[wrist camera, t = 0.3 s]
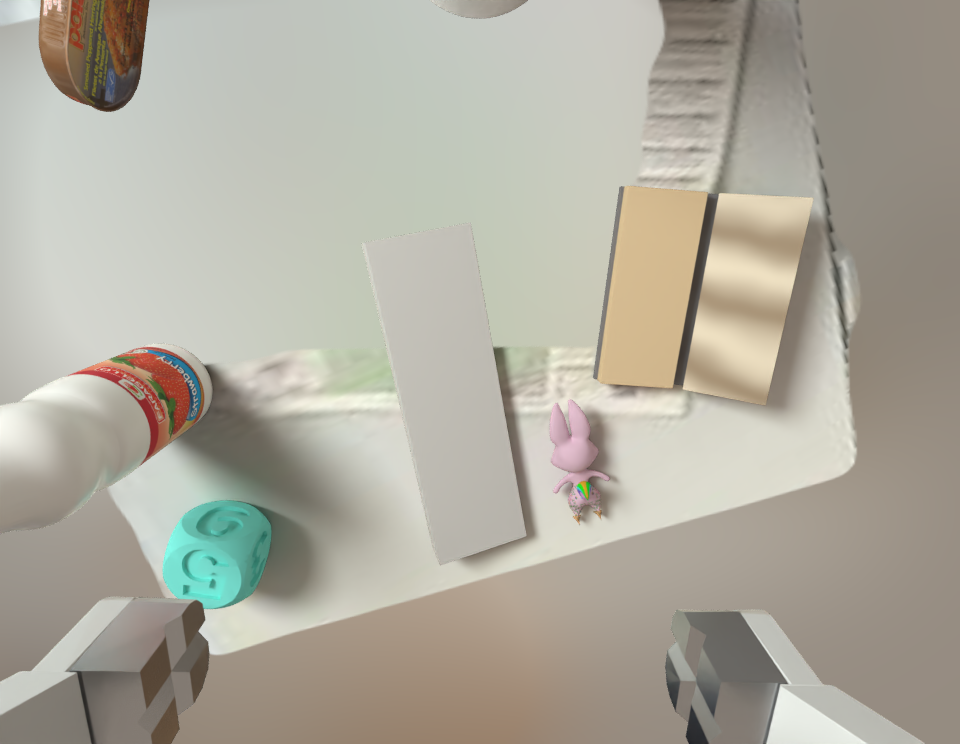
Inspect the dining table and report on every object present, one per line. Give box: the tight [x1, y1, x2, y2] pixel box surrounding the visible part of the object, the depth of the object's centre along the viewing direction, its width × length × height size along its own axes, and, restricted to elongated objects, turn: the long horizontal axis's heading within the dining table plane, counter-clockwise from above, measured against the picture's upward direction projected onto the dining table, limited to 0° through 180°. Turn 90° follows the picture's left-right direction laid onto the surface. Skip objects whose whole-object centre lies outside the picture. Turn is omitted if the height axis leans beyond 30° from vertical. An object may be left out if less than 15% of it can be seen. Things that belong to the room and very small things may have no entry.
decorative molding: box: [362, 223, 526, 565], centre depth 57 cm, size 34×5×10 cm
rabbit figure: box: [550, 400, 610, 525], centre depth 57 cm, size 6×6×15 cm
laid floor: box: [593, 186, 719, 388], centre depth 54 cm, size 19×17×2 cm
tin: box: [39, 0, 149, 112], centre depth 44 cm, size 15×3×8 cm, turn 163°
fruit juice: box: [0, 343, 213, 534], centre depth 43 cm, size 9×9×28 cm
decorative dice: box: [163, 501, 271, 609], centre depth 58 cm, size 8×8×8 cm
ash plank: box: [683, 193, 814, 405], centre depth 52 cm, size 19×8×2 cm, turn 176°
